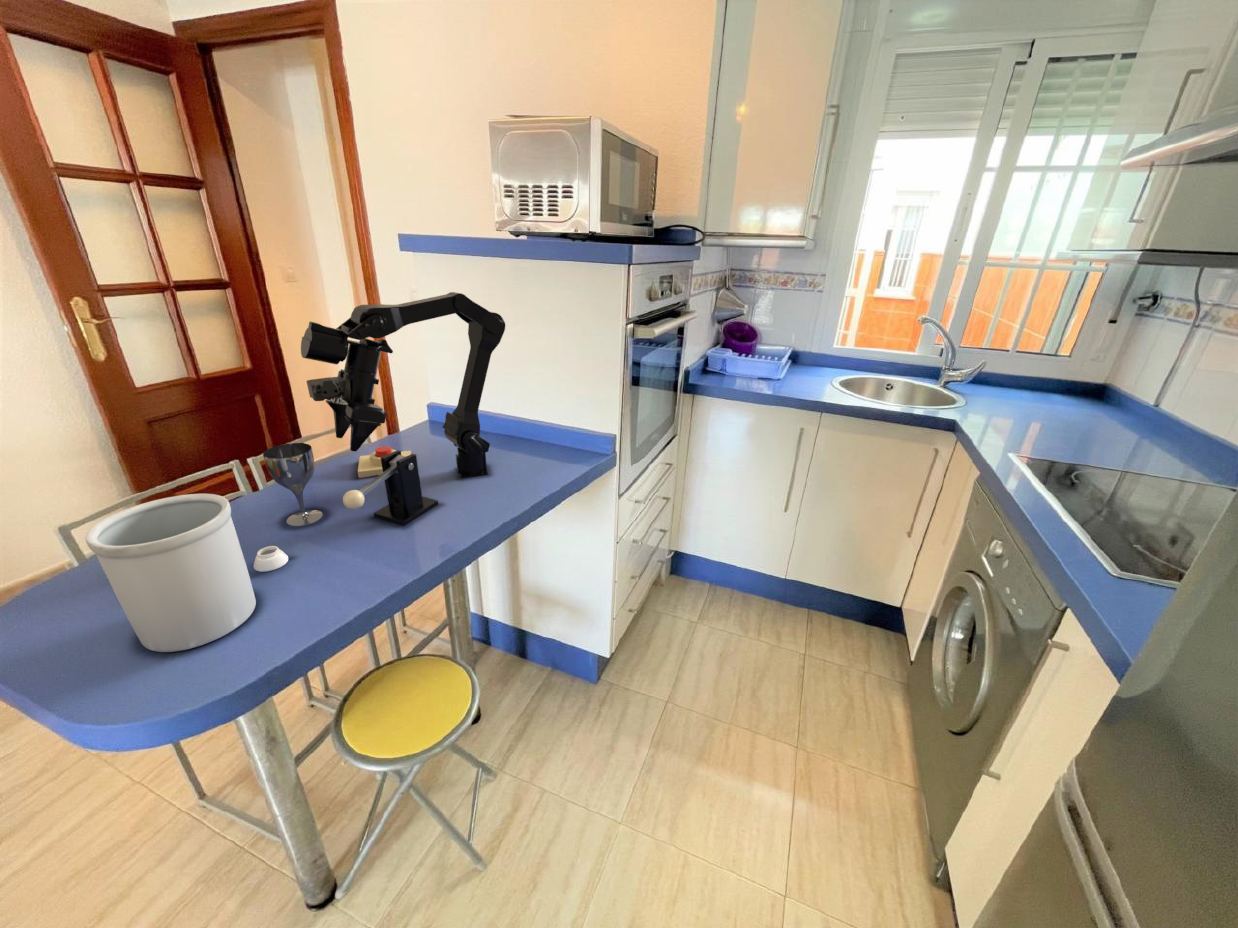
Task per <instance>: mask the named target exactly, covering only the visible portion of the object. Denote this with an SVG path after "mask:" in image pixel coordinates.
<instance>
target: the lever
mask: <svg viewBox="0 0 1238 928" xmlns="http://www.w3.org/2000/svg"><path fill="white" fill-rule="evenodd" d="M404 457H406V456H402V455H398V456H396V457H395V458H394V459H392V460H391V461H390V462H389V464H390V466H391V467H389V468H388V469H387V470H386V471H384V472H383V473H382V474H380V475H377V476H376V477H374V479H372V480H370V482H368V483H367V484H366V485H364V486H363V487H362V488H361V489H359V490H357V489H351V490H348V491H346V492H345V493H344V494H343V497H342V504H343V505H344V507H345V508H347V509H349V510H358V509H360V508H362V507H363V506H364V504H365V499H366V498H365V496H367V495H368V494H370V492H372V491H373V490H374V489H376V488H377V487H379V486H380V485H381V484H382V483H384V482H385V480H386V479H387V478H388V477H390V476H391V475H392V474H394V473H395V472H396V473H398V470H397V464H396V461H398V460H400V459H402V458H404Z"/></svg>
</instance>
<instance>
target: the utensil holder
mask: <svg viewBox="0 0 1238 928" xmlns="http://www.w3.org/2000/svg"><path fill="white" fill-rule="evenodd" d="M231 514H232V507H231V505H230V501H229V500H228V499H227V498H225V497H224V496H222V495H219V494H214V493H190V494H182V495H173V496H168V497H164V498H159V499H155V500H151V501H146V502H143V503H141V504H137V505H133V506H131V507H128V508H125V509H123V510H119V511H117V512H115V513H113V514H111V515H109V516H107V517H105V518H103V519H101V520H100V521H98V522H97V523H95V524H94V525H92V527H91V528H90V529H88V531H87V532H86V535H85V537H84V538H85V543H86V544H87V547H88V548H89V550H90V551H91V552H92V553H94V554H95V555H96V557H97V560H98V562H99V564H100V565H101V568H102V569H103V572H104V574H105V576H106V578H107V580H108V582H109V584H110V587H111V589H112V590H113V592H114V595H115V596H116V599H117V600H118V602H119V604H120V607H121V608H122V610H123V612H124V614H125V616H126V618H127V621H128V622H129V623H130V625H131V627H132V629H133V631H134V633H135V635H136V636H137V639H138V640H139V641H140V643H141V645H142V646H143V647H144V648H146V649H147V650H149V651H153V652H157V653H174V652H181V651H186V650H191V649H193V648H197V647H200V646H204V645H206V644H209V643H211V642H213V641H216V640H218V639H220V638H223V637H224V636H226V635H227V634H230V633H231V632H233V631H234V630H236V629H237V628H238V627H240V626H241V625H243V623H245V622H246V621H247V620H248V619H249V618H250V617H251V615H252V614H253V612H254V611H255V608H256V604H257V600H256V596H255V591H254V588H253V585H252V581H251V577H250V573H249V570H248V567H247V563H246V560H245V557H244V553H243V550H242V547H241V544H240V540H239V537H238V533H237V531H236V528H235V525H234V522H233V519H232V515H231Z"/></svg>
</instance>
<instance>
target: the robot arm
mask: <svg viewBox="0 0 1238 928" xmlns="http://www.w3.org/2000/svg"><path fill="white" fill-rule="evenodd" d="M454 314H455V315H456V316H457V317H458V318H459V319H461V321H463V322H465V323H467V324H468V329H467V337H468V341H469V346H470V348H469V353H468V357H467V362H466V366H465V371H464V375H463V380H462V383H461V389H460V393H459V396H458V397H459V398H458V402H457V406H456V407H455V409H454V410H453V411H452V412H449V411H446V413H445V419H444V424H443V425H442V428H443V429H444V432H443V433H444V436H445V437H446V439H447V440H448V441H449V442H450V443H452V444H453V446H454V447H455V448H456V449H457V453H456V454H455V463H456V464H455V465H456V471H457V474H459V476H460V478H461V479H467V478H475V477H483V476H489V470H488V467H487V456H486V453H488V452H489V449H490V447H491V446H490V445H491V444H490V442H488V441H487V440H486V439H484V438H483V437H481V436H480V435H481V422H480V417H479V408H480V404H481V399H482V395H483V391H484V387H485V384H486V383H485V382H486V379H487V375H488V370H489V366H490V362H491V357H492V354H493V352H494V351H495V349H496V348H497V347H498V345H499V344H500V343H501V341H502V338H503V336H504V334H505V331H506V321H505V320H504V318H503V317H502V315H501V314H499V313H497V312H493V311H490V310H488V309H486V308H485V307H484V306H481V305H480V304H479V303H477V302H475V301H474V300H472V299H470V298H469V297H468V296H467V295H466V294H464V293H461V292H455V291H450V292H448V293H446V294H441V295H437V296H436V295H435V296H432V297H428V298H422V299H418V300H413V301H408V302H403V303H397V304H385V303H384V304H383V303H382V304H381V303H375V304H360V305H357V306H355V307H354V308H353V310H352V312H351V315H350V317H349V318H347V320H345V321H344V322H343V323H341V324H340V325H338V327H336V328H335V327H330V326H326V325H322V324H321V323H319V322H316V321H308V326H307V328H306V330H305V332H304V333H303V336H301V341H300V355H301V357H302V359H307V360H312V361H317V362H321V363H327V364H332V365H339V364H340V362H342V363H343V362H344V361H345V364H344V369H340V370H338V373H337V376H328V377H321V378H313V379H308V380H306V381H305V382H306V385H307V390H308V394H309V398H311V399H312V400H313V401H314V402H323V401H325V403H326V404H327V405H328V406H329V407H330V409H332V412H333V419H334V431H335V438H337V439H343V438H344V437H345V434H346V433H347V431H348V429H349V428H350V441H349V445H350V446H349V447H350V451H351V452H357V451H359V449H360V448H361V447H362V445H364V443H365V442H366V441H367V440H368V438H369V437H370V436H371V435H372V434H373V433H374V431H376V430H377V428H378V427H381V425H382V424H385V423H386V420H387V419H386V418H387V413H386V411H385V410H384V408H382V407H381V406H379V405H378V404H375V402H376V399H374V398H373V393H374V388H375V385H379V383H380V379H378V378H377V374H378V370H379V364H380V359H381V355H382V352H383V353H387V354H393V353H394V350H393V349H392V348H391V347H390V345H389V343H388V341H387V339H384V338H385V337H387V336H389V335H391V334H394V333H396V332H398V331H399V330H401V329H402V328H404V327H405V326H409V325H411V324H415V323H421V322H424V321H429V320H432V319H436V318H441V317H445V316H451V315H454ZM369 338H372V339H369ZM352 339H353V340H352ZM373 339H379V340H373Z"/></svg>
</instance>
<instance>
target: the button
mask: <svg viewBox="0 0 1238 928" xmlns="http://www.w3.org/2000/svg"><path fill="white" fill-rule="evenodd" d="M391 449H392V447H390V446H387V445H385V446H380V447H377V448H375V451H376V457H383V456H385V455H388V454H390V453H392V450H391ZM375 451H374V452H375Z"/></svg>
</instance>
